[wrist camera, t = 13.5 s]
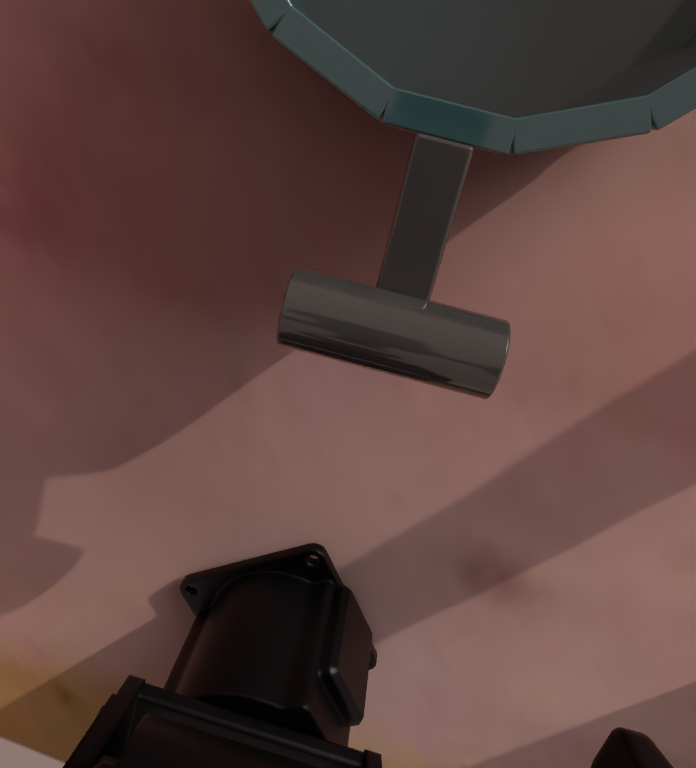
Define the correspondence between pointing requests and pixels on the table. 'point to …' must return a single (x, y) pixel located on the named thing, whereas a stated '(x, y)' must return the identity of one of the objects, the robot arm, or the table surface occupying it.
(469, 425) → the table surface
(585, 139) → the saucepan
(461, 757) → the table surface
